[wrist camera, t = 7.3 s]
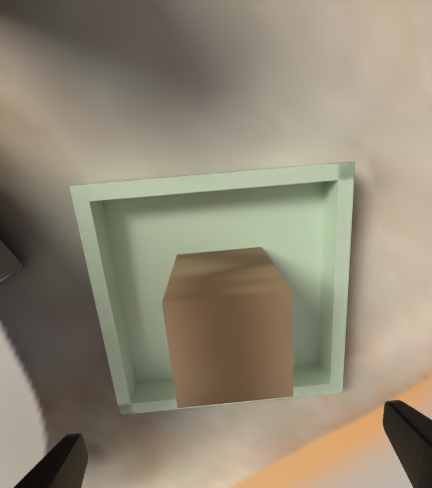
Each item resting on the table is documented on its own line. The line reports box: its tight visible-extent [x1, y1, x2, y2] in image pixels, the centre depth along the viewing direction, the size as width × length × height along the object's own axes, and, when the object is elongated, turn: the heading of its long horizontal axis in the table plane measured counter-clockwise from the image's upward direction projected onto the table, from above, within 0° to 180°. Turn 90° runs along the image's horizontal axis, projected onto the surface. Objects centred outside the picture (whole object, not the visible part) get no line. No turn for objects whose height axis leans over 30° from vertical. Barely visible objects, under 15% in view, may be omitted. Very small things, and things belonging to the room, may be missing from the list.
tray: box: [69, 162, 355, 415], centre depth 16 cm, size 14×14×2 cm
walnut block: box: [162, 247, 293, 408], centre depth 14 cm, size 5×5×6 cm
